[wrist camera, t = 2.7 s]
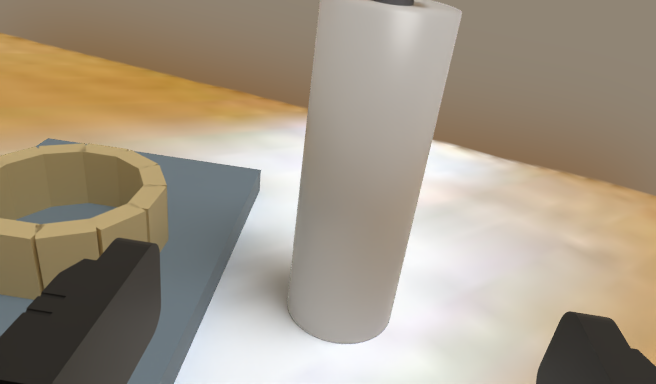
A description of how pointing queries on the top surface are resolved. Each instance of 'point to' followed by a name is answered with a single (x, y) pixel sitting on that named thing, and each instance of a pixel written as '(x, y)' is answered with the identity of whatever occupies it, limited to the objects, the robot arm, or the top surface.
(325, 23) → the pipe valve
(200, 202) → the socket plate
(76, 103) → the top surface
